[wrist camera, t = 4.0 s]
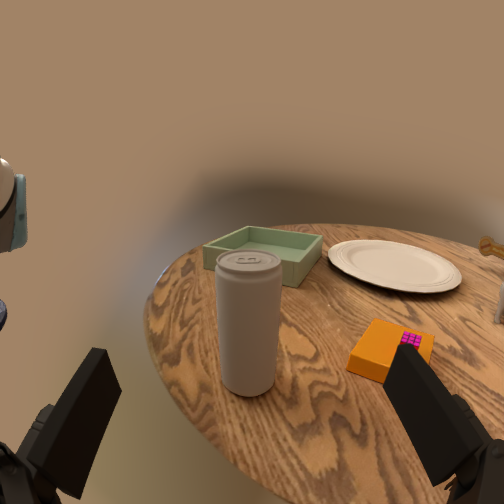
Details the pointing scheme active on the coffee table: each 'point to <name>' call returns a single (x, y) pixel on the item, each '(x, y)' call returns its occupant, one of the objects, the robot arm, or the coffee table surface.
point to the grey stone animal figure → (500, 305)
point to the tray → (271, 249)
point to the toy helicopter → (490, 247)
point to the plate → (395, 266)
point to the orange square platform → (385, 348)
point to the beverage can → (248, 318)
